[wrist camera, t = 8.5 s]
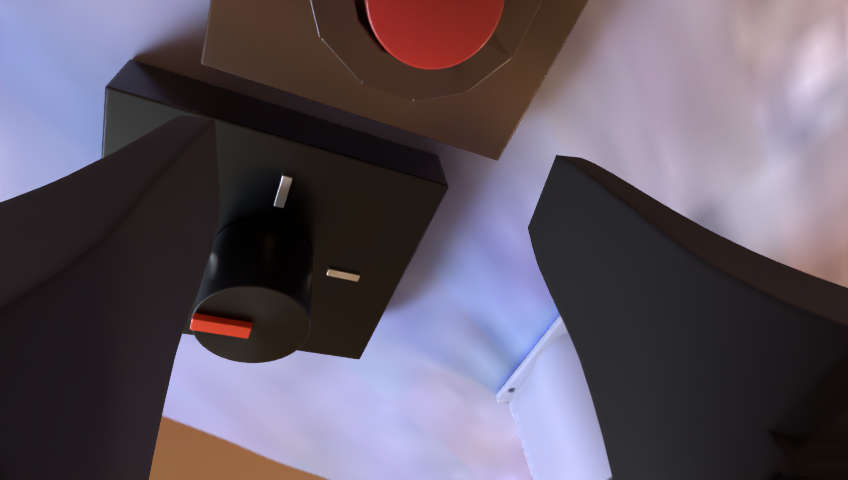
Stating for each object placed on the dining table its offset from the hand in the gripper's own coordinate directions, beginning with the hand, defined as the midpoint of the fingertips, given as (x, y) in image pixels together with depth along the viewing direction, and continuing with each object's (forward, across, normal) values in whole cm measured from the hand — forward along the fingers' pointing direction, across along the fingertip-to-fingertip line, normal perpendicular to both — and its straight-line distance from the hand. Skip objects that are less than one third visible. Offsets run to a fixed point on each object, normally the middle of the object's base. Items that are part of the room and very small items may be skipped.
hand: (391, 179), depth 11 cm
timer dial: (+7, +3, +9) cm, 12 cm away
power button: (+6, -1, -3) cm, 7 cm away
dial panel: (+10, +3, +8) cm, 13 cm away
